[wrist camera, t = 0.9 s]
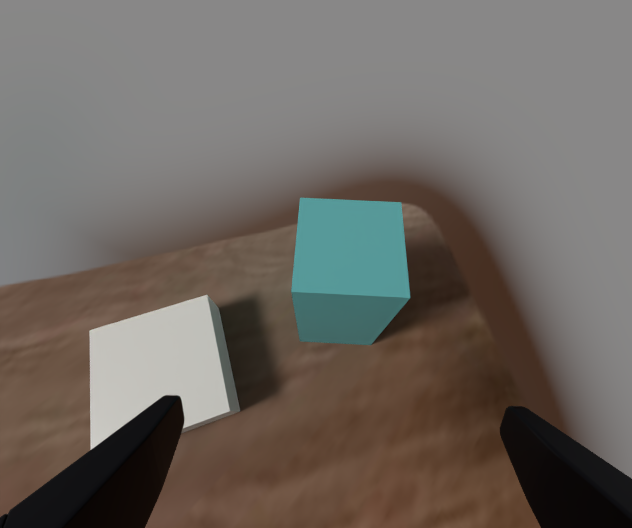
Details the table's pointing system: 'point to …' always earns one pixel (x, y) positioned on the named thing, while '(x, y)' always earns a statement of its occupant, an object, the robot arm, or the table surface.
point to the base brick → (161, 367)
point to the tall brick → (348, 269)
